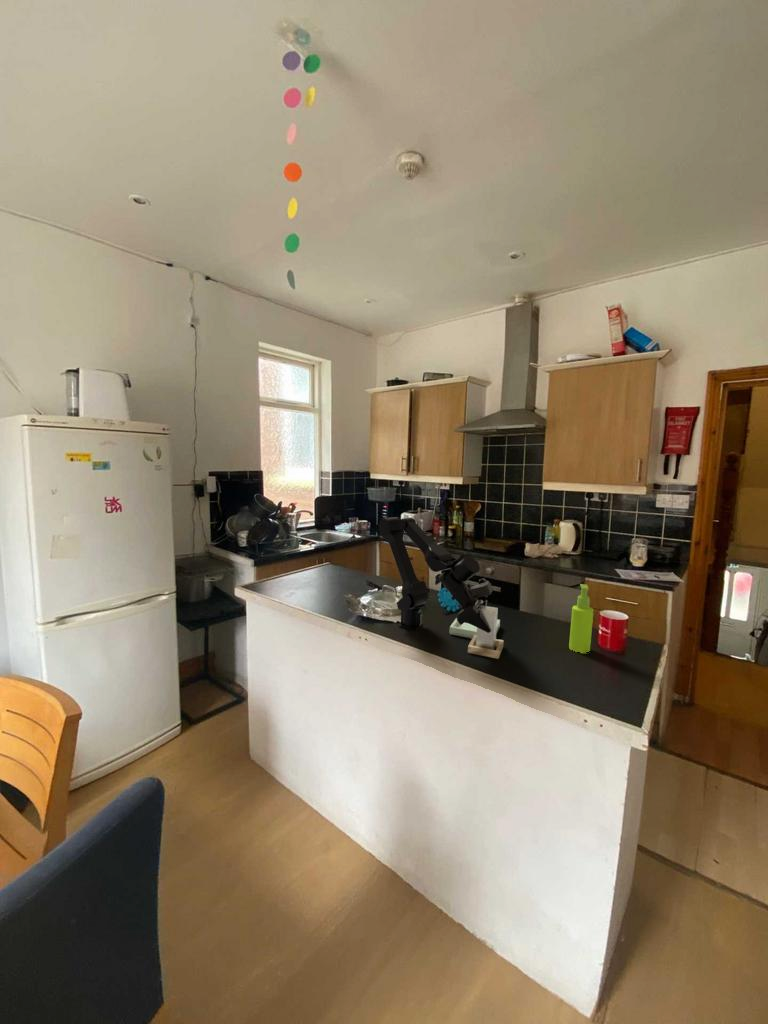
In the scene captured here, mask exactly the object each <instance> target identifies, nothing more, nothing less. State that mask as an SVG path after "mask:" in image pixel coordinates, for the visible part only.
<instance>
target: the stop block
mask: <svg viewBox="0 0 768 1024" xmlns="http://www.w3.org/2000/svg"><path fill="white" fill-rule="evenodd" d="M481 608H482V614H481V615H482V617H483V618H484V620H485V621H486V623H487V624H488V626H489V628H490V629H491V632H489V633H487V632H485V631H483V630H481V629H479V628H477V635H476V645H475V646H477V647H482V648H487V649H492V650H495V649H496V646H495V644H496V639H497V634H496V629H497V619H498V613H499V612H498V610H499V608H498V607H495V606H488V605H487V606H483V605H481V606H480V608H479V610H480V609H481Z"/></svg>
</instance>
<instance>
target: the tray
mask: <svg viewBox="0 0 768 1024" xmlns="http://www.w3.org/2000/svg"><path fill="white" fill-rule="evenodd" d="M500 627H501V619H498V618H497V629H496V635H497V633H498V632H499V630H500ZM449 635H451V636H452V635H453V636H457V637H462V638H468V639H472V638H473V637H474V635H477V627H475V626H473V625H471V624H468V623H463V624H462V625H460V623H459V622H458V621H457V617H456V618H455V619H454V620H453V622H452V623H451V625H450V626H449Z"/></svg>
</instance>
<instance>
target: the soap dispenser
mask: <svg viewBox="0 0 768 1024" xmlns="http://www.w3.org/2000/svg"><path fill="white" fill-rule="evenodd" d="M579 587H580V589H581V590H580V594H579V595H578V596H577V601H576V605H575V604H574V605H573V606H572V607H571V619H570V630H569V631H570V632H569V641H568V642H569V643H568V648H569V650H570V651H572V650H573V652H574V651H575V653H577V652H580V653H579V654H587V653H586V652H589V651H591V641H592V631H593V622H594V621H593V619H594V609H593V608H592V607H590V603H591V598H590V596H588V591H589V586H588V584H585V583H584V584H583V583H580V584H579ZM589 653H590V652H589Z"/></svg>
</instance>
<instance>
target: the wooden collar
mask: <svg viewBox="0 0 768 1024" xmlns="http://www.w3.org/2000/svg"><path fill="white" fill-rule="evenodd" d="M503 648H504V640H503V639H497V638H496V644H495V649H496V650H495V649H494V650H492V649H487V648H482V647H477V646H476V635H474V637H473V638H471V640H470V642H469V644H468V646H467V653H468V654H473V655H477V656H483V657H487V658H492V659H497V660H498V659H499V658H500V656H501V653H502V651H503Z"/></svg>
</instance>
